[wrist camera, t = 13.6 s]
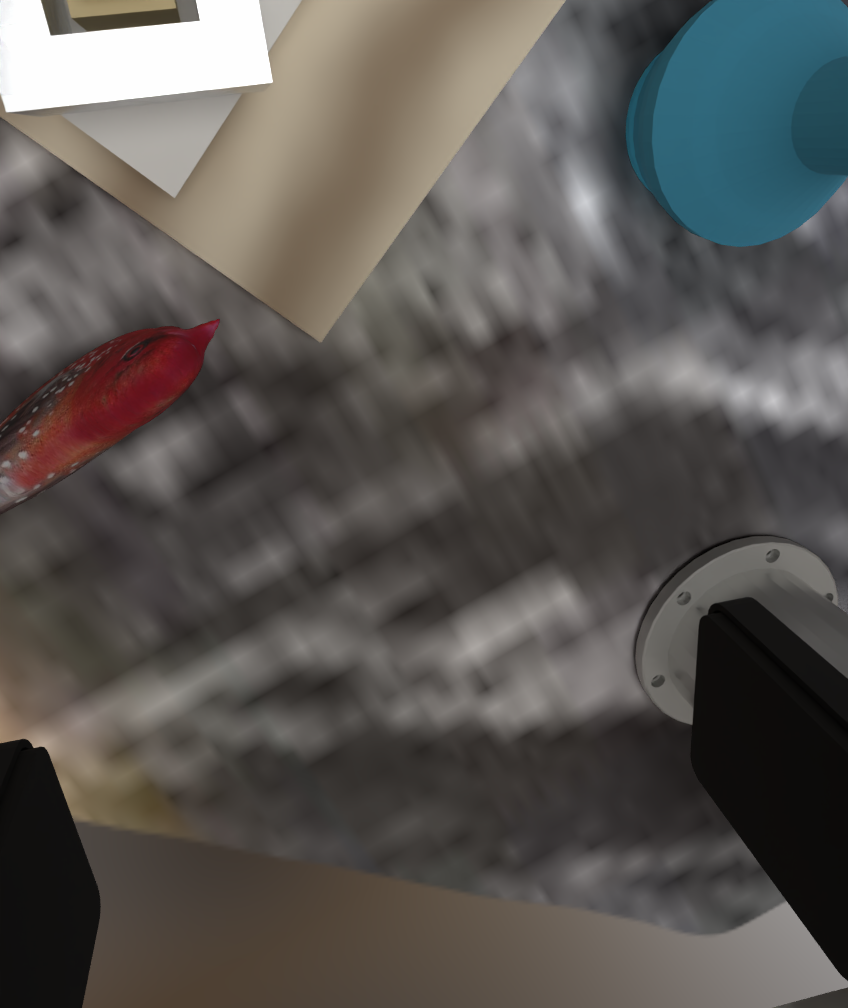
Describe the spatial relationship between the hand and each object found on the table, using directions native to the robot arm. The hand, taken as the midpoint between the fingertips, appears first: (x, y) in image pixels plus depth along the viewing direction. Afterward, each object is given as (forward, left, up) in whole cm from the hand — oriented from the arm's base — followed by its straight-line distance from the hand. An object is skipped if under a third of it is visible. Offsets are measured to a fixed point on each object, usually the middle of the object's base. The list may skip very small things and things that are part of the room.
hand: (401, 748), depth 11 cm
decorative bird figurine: (+6, +8, -26) cm, 27 cm away
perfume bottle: (-9, -18, -26) cm, 33 cm away
